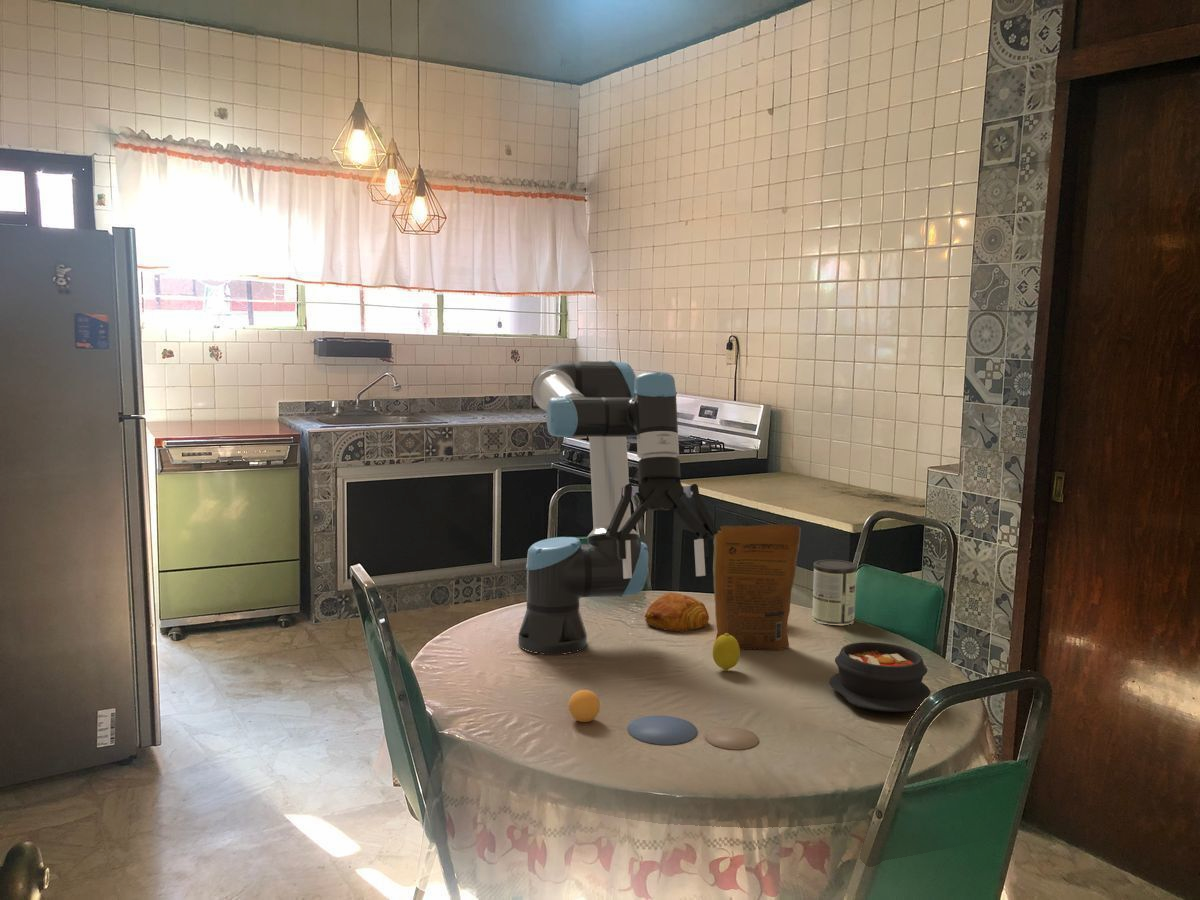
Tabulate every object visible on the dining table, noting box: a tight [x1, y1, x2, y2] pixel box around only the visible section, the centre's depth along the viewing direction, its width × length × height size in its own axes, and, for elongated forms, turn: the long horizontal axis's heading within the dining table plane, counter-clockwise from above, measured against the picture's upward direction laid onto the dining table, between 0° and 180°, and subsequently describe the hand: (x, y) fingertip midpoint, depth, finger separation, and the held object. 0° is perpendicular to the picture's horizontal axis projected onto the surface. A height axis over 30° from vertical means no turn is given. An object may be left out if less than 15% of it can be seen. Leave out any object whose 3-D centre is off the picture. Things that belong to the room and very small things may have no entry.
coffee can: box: [811, 559, 858, 624], centre depth 227 cm, size 10×10×14 cm
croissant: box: [644, 592, 710, 632], centre depth 223 cm, size 14×16×8 cm
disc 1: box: [627, 714, 698, 746], centre depth 161 cm, size 12×12×1 cm
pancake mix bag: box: [712, 524, 802, 651], centre depth 205 cm, size 7×19×28 cm, turn 87°
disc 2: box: [704, 726, 760, 751], centre depth 158 cm, size 9×9×1 cm
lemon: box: [712, 633, 741, 672], centre depth 190 cm, size 6×6×8 cm
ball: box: [568, 689, 601, 723], centre depth 164 cm, size 6×6×6 cm
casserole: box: [829, 641, 932, 713], centre depth 178 cm, size 25×19×8 cm
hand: (664, 577), depth 164 cm, fingers open, 13 cm apart
